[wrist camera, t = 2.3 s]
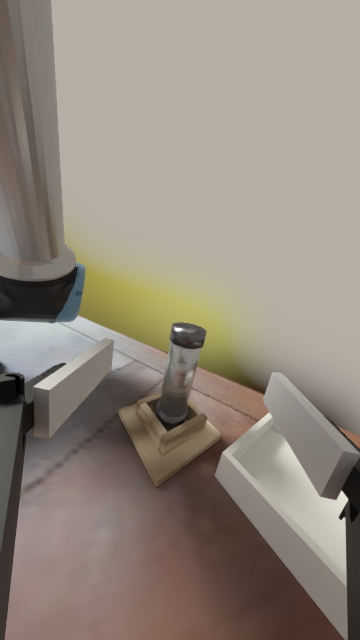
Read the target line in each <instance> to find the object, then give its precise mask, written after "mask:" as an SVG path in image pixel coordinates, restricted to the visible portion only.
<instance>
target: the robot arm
mask: <svg viewBox="0 0 360 640" xmlns="http://www.w3.org/2000/svg"><path fill="white" fill-rule="evenodd" d="M53 46H54V45H53V28H52V9H51V0H0V320H7V321H27V322H48V323H55V322H71V321H73V320H74V319H76V317H77V315H78V312H79V309H80V304H81V298H82V293H83V288H84V280H85V267H84V265H82V264H80V263H78V262H76V257H75V254H74V252H73V251H72V250H71V249H70V247H68V246H67V245H66V244H65V243H64V227H63V209H62V190H61V173H60V154H59V137H58V118H57V100H56V83H55V64H54V47H53ZM113 346H114V340H111V339H106V338H105V339H103V340H102V341H100V342H99V343H97V344H96V345H94V346H93V347H91V348H90V349H88V350H87V351H85V352H84V353H82V354H81V355H79V356H78V357H76V358H75V359H73V360H72V361H70V362H69V363H67V364H66V363H61V364H58V365H55V366H53V367H51V368H50V369H48V370H47V371H46V372H43V373H42V374H40V376H37V377H35V378H34V379H32V380H31V381H29V382H27V383H26V384H24V376H23V375H22V374H20V373H4V374H0V640H5V630H6V621H7V612H8V602H9V593H10V584H11V574H12V565H13V556H14V546H15V537H16V528H17V518H18V509H19V500H20V490H21V481H22V472H23V462H24V453H25V444H26V433H27V432H28V431H29V430H30V429H31V428H32V427H33V426H34V436H36V437H41V438H45V439H50V438H51V437H52V435H53V434H54V433H55V432H56V431H57V430H58V429H59V428H60V426H61V425H62V424H63V423H64V422H65V421H66V420H67V419H68V418H69V416H70V415H71V414H72V413H73V412H74V411H75V410H76V409H77V407H78V406H79V405H80V404H81V403H82V402H83V401H84V400H85V399H86V397H87V396H88V395H89V394H90V393H91V392H92V391H93V390H94V388H95V387H96V386H97V385H98V384H99V383H100V382H101V381H102V380H103V378H104V377H105V376H106V375H107V374H108V373H109V372H110V371H111V366H112V356H113ZM263 402H264V404H265V405H266V407H267V409H268V410H269V412H270V414H271V416H272V417H273V419H274V421H275V422H276V424H277V426H278V427H279V429H280V431H281V432H282V434H283V436H284V437H285V439H286V441H287V442H288V444H289V446H290V447H291V449H292V451H293V453H294V454H295V456H296V458H297V459H298V461H299V463H300V464H301V466H302V468H303V469H304V471H305V473H306V474H307V476H308V478H309V479H310V481H311V483H312V484H313V486H314V488H315V489H316V491H317V493H318V495H319V496H320V497H323V498H328V499H332V500H337V498H338V496H339V494H340V492H341V491H343V493H344V494H345V496H346V497H347V498H348V501H347V503H346V505H345V506H344V508H343V510H342V512H341V513H340V515H339V519H340V520H341V521H342V519H343V517H345V523H346V572H347V621H348V640H360V449H359V448H358V447H357V446H356V445H355V444H354V443H353V442H352V441H351V440H350V439H349V438H347V436H346V435H345V434H344V433H343V432H341V430H340V429H339V428H338V427H337V426H336V425H335V424H334V423H333V422H332V421H330V420H329V419H328V418H326V417H325V416H323V415H322V414H321V413H320V412H319V411H318V410H317V409H316V408H315V407H314V406H313V405H312V404H311V403H310V402H309V401H308V400H307V399H306V398H305V396H303V394H302V393H301V392H300V391H299V390H298V389H297V388H296V387H295V386H294V385H292V383H291V382H290V381H289V380H288V379H287V378H286V377H285V376H284V375H283V374H282V373H276V372H272V375H271V379H270V381H269V384H268V387H267V390H266V393H265V395H264V398H263Z"/></svg>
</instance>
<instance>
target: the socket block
mask: <svg viewBox="0 0 360 640" xmlns="http://www.w3.org/2000/svg"><path fill="white" fill-rule="evenodd" d="M160 395H161V392H160V393H158V394H155V395H152V396H149V397H146V398H143V399H140V400H137V403H135V404H132V405H129V406H126V407H124V408H121V409H119V411H118V415H119V417H120V419H121V421H122V423H123V425H124V427H125V429H126V431H127V433H128V435H129V437H130V439H131V440H132V442H133V444H134V446H135V448H136V450H137V452H138V454H139V456H140V458H141V460H142V462H143V464H144V466H145V468H146V470H147V472H148V474H149V475H150V477H151V479H152V481H153V483H154V485H155V487H158V486H159V485H160V484H162V483H163V482H164V481H166V480H167V479H168V478H170V477H171V476H172V475H174V474H175V473H176V472H177V471H179V470H180V469H181V468H183V467H184V466H185V465H187V464H188V463H189V462H191V461H192V460H193V459H195V458H196V457H197V456H199V455H200V454H201V453H202V452H204V451H205V450H206V449H208V448H209V447H210V446H212V445H213V444H214V443H216V442H217V441H218V440H220V437H221V433H220V432H219V431H218V430H216V429H215V428H214V427H213V426H212V425H211V424H210V423H209V422H208V421H207V416H206V415H205V414H204V413H202V412H201V411H200V410H199V409H198V408H197V407H196V406H195V405H194V404H193V403H192V402H191V401H190V400H189V401H188V405H187V408H188V410H187V415H186V419H185V423H183V424H181V425H179V426H178V427H176V428H174V429H172V430H170V431H168V432H167V431H166V429H165V428H164V427H163V425H162V424H161V422H160V421H159V420H158V418H157V417H156V416H155V414H156V409H157V403H158V401H159V400H160Z"/></svg>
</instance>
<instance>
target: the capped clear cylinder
mask: <svg viewBox="0 0 360 640" xmlns="http://www.w3.org/2000/svg"><path fill="white" fill-rule="evenodd" d="M205 336H206V330H205V329H203V328H201V327H199V326H196V325H193V324H189V323H174V324H173V325H172V330H171V335H170V341H171V343H170V348H169V353H168V358H167V363H166V368H165V374H164V379H163V384H162V389H161V395H160V400H159V401H158V403H157V409H156V414H155V416H156V417H157V418H158V420H159V421H160V422H161V424H162V425H163V427H164V428H165V429H166V431H167V432H168V431H170V430H172V429H174V428H176V427H178V426H179V425H181V424H183V423H185V419H186V415H187V410H188V408H187V405H188V401H189V397H190V392H191V388H192V384H193V380H194V376H195V372H196V367H197V363H198V359H199V355H200V351H201V348H202V347H203V344H204V340H205Z"/></svg>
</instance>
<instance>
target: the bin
mask: <svg viewBox="0 0 360 640" xmlns="http://www.w3.org/2000/svg"><path fill="white" fill-rule="evenodd" d="M215 478H216V479H217V480H218V481H219V483H220V484H221V485H222V486H223V488H224V489H225V490H226V491H227V493H228V494H229V495H230V496H231V498H232V499H233V500H234V501H235V503H236V504H237V505H238V507H239V508H240V509H241V510H242V512H243V513H244V514H245V515H246V517H247V518H248V519H249V520H250V522H251V523H252V524H253V525H254V527H255V528H256V529H257V530H258V532H259V533H260V534H261V535H262V537H263V538H264V539H265V540H266V542H267V543H268V544H269V546H270V547H271V548H272V549H273V551H274V552H275V553H276V554H277V556H278V557H279V558H280V559H281V561H282V562H283V563H284V564H285V566H286V567H287V568H288V569H289V571H290V572H291V573H292V574H293V576H294V577H295V578H296V580H297V581H298V582H299V583H300V585H301V586H302V587H303V588H304V590H305V591H306V592H307V593H308V595H309V596H310V597H311V598H312V600H313V601H314V602H315V603H316V605H317V606H318V607H319V608H320V610H321V611H322V612H323V613H324V615H325V616H326V617H327V619H328V620H329V621H330V622H331V624H332V625H333V626H334V627H335V629H336V630H337V631H338V632H339V634H340V635H341V636H342V637H343V639H344V640H348V621H347V572H346V523H345V517H343V519H342V521H341V520H340V519H339V515H340V513H341V512H342V510H343V508H344V506H345V505H346V503H347V501H348V498H347V497H346V496H345V494H344V493H343V491H341V492H340V494H339V496H338V498H337V500H332V499H328V498H323V497H320V496H319V495H318V493H317V491H316V489H315V488H314V486H313V484H312V483H311V481H310V479H309V478H308V476H307V474H306V473H305V471H304V469H303V468H302V466H301V464H300V463H299V461H298V459H297V458H296V456H295V454H294V453H293V451H292V449H291V447H290V446H289V444H288V442H287V441H286V439H285V437H284V436H283V434H282V432H281V431H280V429H279V427H278V426H277V424H276V422H275V421H274V419H273V417H272V416H271V414H270V412H269V413H268V414H267V415H266V416H264V417H263V418H262V419H261V420H260V421H259V422H257V423H256V424H255V425H254V426H253V427H252V428H250V429H249V430H248V431H247V432H246V433H244V434H243V435H242V436H241V437H240V438H239V439H237V440H236V441H235V442H234V443H233V444H232V445H230V446H229V447H228V448H227V449H226V450H225V451H223V452H222V455H221V458H220V461H219V464H218V467H217V470H216V473H215Z"/></svg>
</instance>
